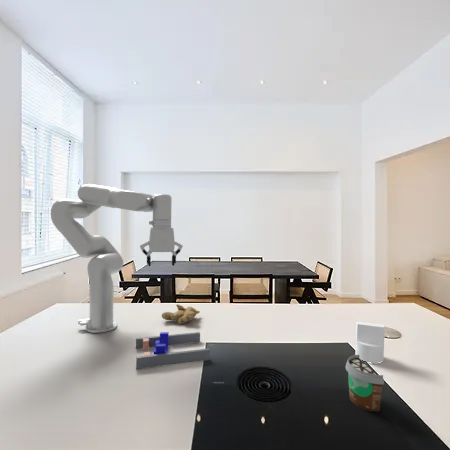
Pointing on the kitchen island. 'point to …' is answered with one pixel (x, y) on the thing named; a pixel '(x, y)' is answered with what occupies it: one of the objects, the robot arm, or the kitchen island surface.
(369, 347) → the cylinder with rectangular tab
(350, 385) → the food container
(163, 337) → the cable clip
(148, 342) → the guide channel
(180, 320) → the ginger root
